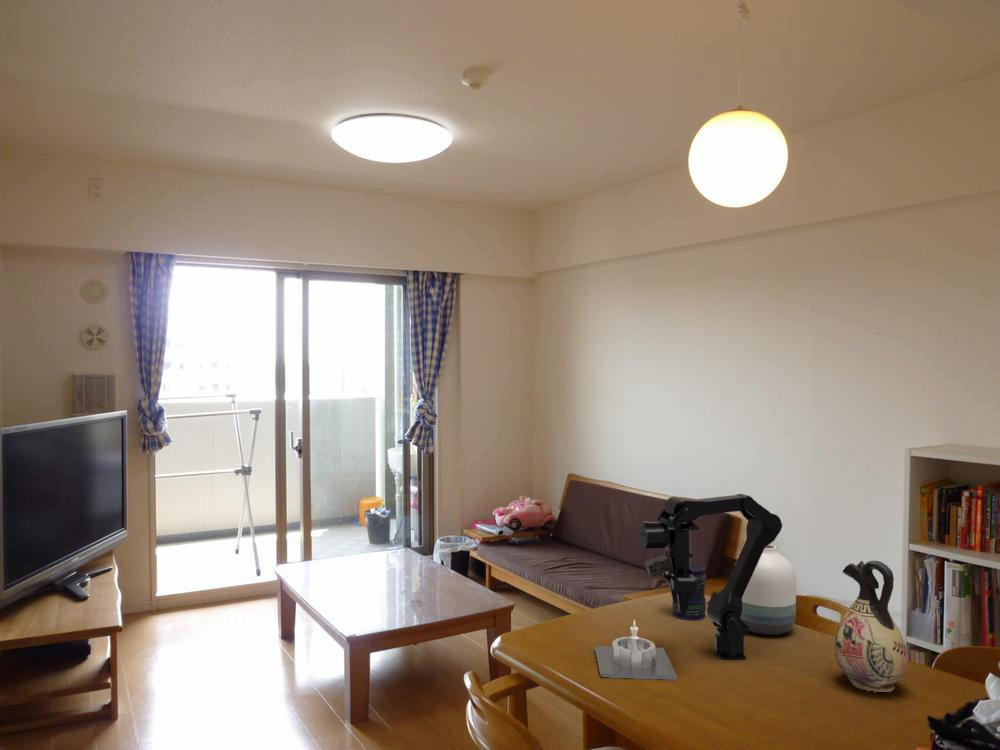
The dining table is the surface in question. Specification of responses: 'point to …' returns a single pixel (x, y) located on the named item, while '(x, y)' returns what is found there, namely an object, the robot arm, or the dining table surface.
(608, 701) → the dining table surface
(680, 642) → the dining table surface
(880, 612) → the ceramic jug
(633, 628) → the chess piece
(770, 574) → the vase
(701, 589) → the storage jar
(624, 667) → the duct collar
